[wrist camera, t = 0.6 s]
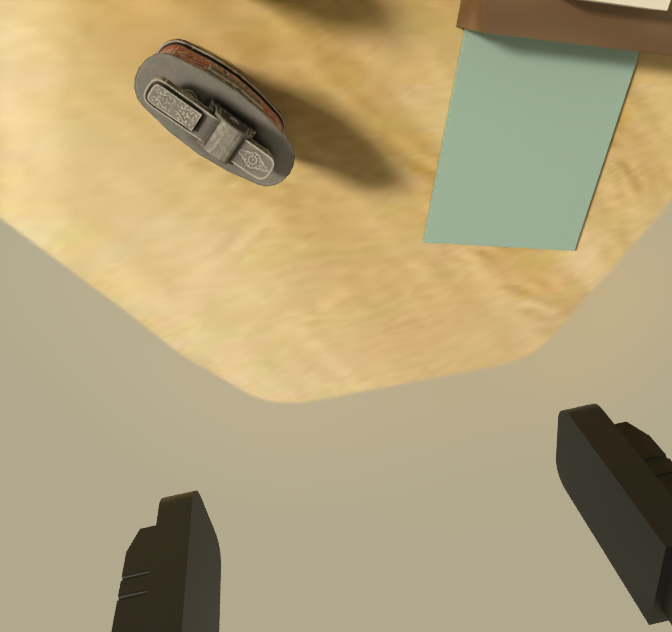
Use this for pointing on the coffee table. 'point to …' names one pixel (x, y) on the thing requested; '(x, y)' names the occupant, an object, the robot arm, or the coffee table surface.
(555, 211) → the mat
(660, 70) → the coffee table surface
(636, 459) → the robot arm
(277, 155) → the lighter
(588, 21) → the wooden block
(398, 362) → the coffee table surface
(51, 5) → the coffee table surface
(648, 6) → the tile
